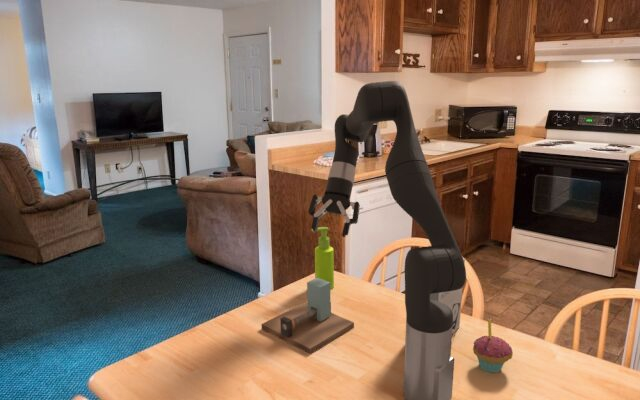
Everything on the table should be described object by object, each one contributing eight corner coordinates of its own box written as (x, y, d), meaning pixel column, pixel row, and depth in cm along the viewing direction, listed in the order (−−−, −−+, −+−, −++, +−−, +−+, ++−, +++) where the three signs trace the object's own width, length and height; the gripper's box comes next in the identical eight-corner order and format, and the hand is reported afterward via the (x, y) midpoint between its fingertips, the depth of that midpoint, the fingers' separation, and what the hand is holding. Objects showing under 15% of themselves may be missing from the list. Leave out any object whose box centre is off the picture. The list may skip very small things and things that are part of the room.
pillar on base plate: (353, 327, 131) (354, 307, 129) (310, 354, 119) (309, 332, 117) (305, 306, 142) (305, 288, 141) (261, 329, 130) (260, 309, 129)
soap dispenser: (310, 285, 157) (308, 226, 152) (330, 282, 159) (329, 223, 154) (315, 292, 151) (314, 231, 146) (336, 289, 153) (336, 229, 148)
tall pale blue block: (330, 316, 133) (330, 282, 131) (320, 321, 130) (320, 287, 128) (317, 310, 136) (317, 277, 134) (307, 315, 133) (307, 282, 131)
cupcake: (464, 360, 115) (467, 315, 112) (493, 353, 118) (497, 308, 115) (488, 381, 107) (492, 333, 104) (518, 373, 110) (524, 325, 107)
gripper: (314, 172, 140) (302, 226, 137) (363, 180, 137) (351, 235, 133) (319, 180, 147) (308, 232, 144) (366, 187, 144) (355, 240, 140)
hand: (329, 233), depth 138 cm, fingers open, 8 cm apart
